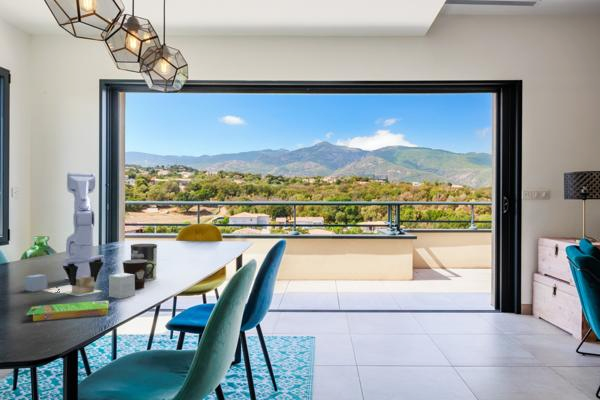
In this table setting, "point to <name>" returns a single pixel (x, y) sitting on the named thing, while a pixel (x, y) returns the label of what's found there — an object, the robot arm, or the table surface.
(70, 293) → the mat
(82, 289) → the block
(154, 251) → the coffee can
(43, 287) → the cube
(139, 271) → the coffee mug
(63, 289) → the letter
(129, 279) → the skincare box
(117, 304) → the table surface
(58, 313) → the game box
